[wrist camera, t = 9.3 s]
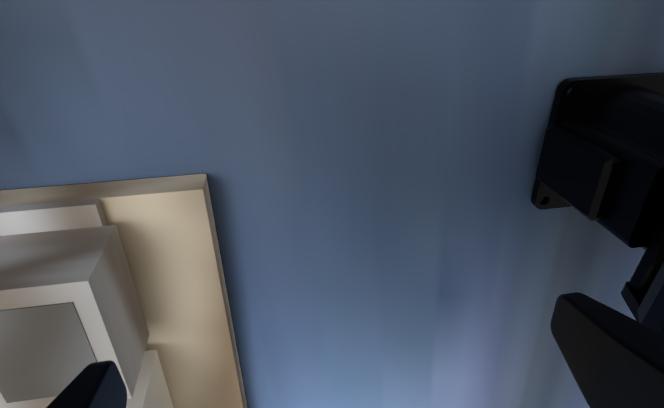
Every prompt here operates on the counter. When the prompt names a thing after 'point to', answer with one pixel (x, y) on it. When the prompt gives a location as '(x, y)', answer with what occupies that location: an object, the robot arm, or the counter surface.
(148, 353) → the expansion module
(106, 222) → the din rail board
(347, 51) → the counter surface
